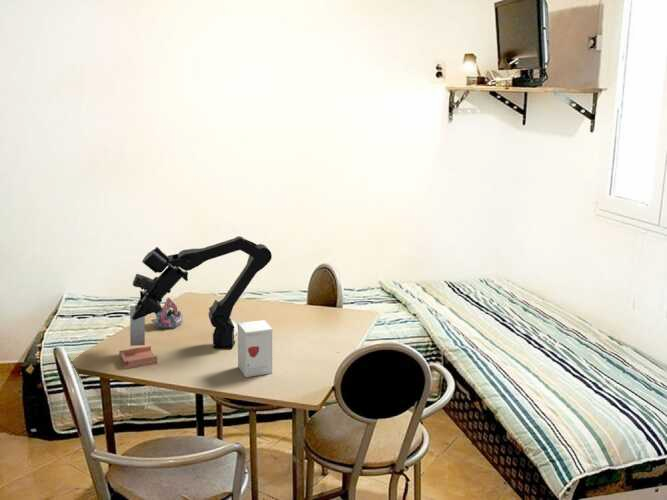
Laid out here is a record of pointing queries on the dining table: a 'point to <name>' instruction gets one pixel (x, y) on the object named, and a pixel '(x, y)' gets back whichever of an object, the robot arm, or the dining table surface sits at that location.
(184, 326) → the dining table surface
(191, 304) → the dining table surface
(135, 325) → the knobbed tall block
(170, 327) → the brake caliper
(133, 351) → the tray
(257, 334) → the supplement box
